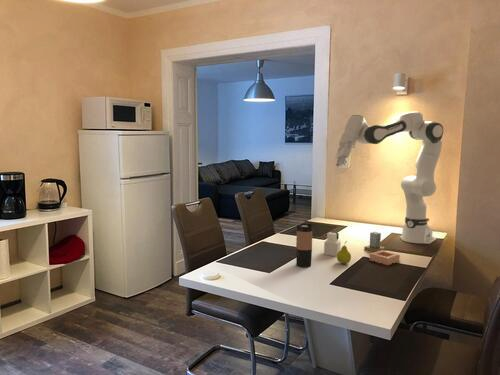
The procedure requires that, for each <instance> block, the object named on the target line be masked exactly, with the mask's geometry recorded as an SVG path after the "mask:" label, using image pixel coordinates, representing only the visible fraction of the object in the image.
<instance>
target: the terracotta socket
mask: <svg viewBox="0 0 500 375" xmlns="http://www.w3.org/2000/svg"><path fill="white" fill-rule="evenodd" d="M400 257H401V254H399V253H394V252H390V251H387V250H385V251H383V250H380V251H377V252H374V253H373V252H369V261H370V262H374V261H375V263H377V264H381V263H382V264H381V265H385V266H390V265H393V264H396V263H399V262H400ZM392 263H393V264H392Z"/></svg>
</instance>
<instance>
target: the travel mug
mask: <svg viewBox="0 0 500 375" xmlns="http://www.w3.org/2000/svg"><path fill="white" fill-rule="evenodd" d="M295 241H296V242H295V243H296V244H295V246H296V247H295V256H296V258H295V259H296V260H295V262H296V267H299V268H310V267H311V266H312V255H313V254H312V253H313V225H312V224H309V223H301V224H297V225H296V240H295Z"/></svg>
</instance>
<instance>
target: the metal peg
mask: <svg viewBox="0 0 500 375" xmlns="http://www.w3.org/2000/svg"><path fill="white" fill-rule="evenodd" d="M381 235H382V234H381V232H377V231H373V232H370V234H369V245H370V247H372V248H379V247H380V246H381Z"/></svg>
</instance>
